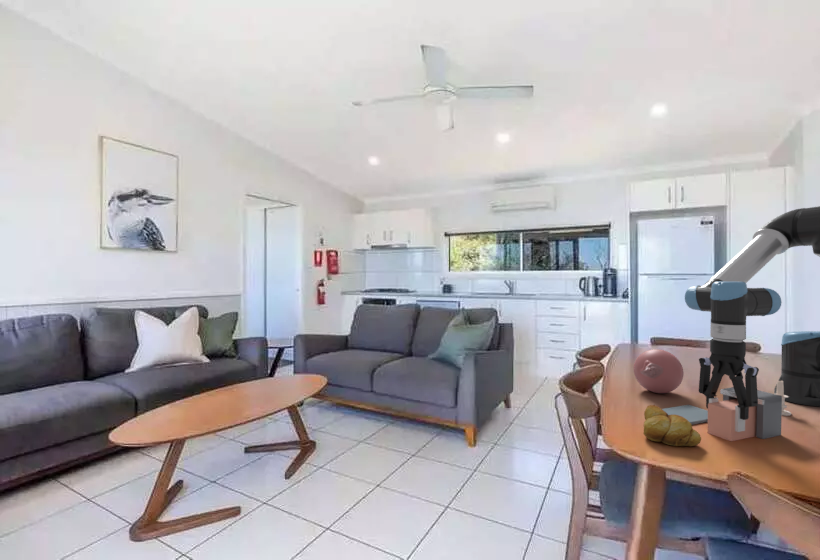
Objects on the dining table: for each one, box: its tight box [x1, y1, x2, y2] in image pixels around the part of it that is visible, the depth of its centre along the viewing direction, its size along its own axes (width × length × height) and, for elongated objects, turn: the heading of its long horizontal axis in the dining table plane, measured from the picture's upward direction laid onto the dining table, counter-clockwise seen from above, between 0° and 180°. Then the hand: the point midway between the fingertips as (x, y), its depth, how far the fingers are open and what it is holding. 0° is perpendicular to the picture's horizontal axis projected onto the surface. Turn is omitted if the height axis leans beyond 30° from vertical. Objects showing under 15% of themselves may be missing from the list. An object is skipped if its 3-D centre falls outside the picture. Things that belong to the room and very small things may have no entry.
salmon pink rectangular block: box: [707, 399, 757, 442], centre depth 112 cm, size 13×6×8 cm, turn 110°
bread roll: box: [643, 404, 702, 447], centre depth 107 cm, size 13×10×8 cm
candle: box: [776, 380, 792, 417], centre depth 128 cm, size 5×5×10 cm
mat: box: [661, 404, 708, 426], centre depth 125 cm, size 18×11×1 cm, turn 110°
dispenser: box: [719, 386, 783, 440], centre depth 114 cm, size 8×10×10 cm
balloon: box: [633, 348, 685, 394], centre depth 148 cm, size 15×20×15 cm
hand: (726, 426), depth 111 cm, fingers closed on salmon pink rectangular block, 6 cm apart
